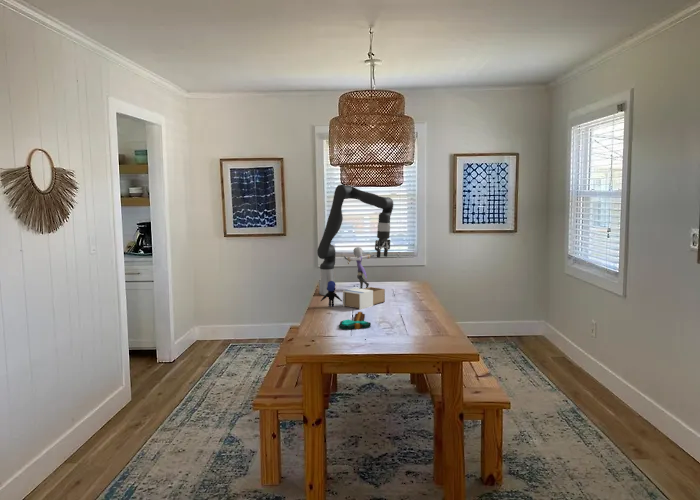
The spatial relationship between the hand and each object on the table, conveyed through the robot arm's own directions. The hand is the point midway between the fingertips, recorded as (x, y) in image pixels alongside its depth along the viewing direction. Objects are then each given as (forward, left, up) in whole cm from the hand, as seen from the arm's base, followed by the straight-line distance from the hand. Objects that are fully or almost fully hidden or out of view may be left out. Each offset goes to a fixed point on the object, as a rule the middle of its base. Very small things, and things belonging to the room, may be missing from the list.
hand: (381, 256), depth 336 cm
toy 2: (+20, -48, -29) cm, 60 cm away
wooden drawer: (-5, -10, -28) cm, 30 cm away
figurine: (-39, +25, -28) cm, 54 cm away
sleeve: (-5, -17, -28) cm, 33 cm away
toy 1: (-18, -26, -28) cm, 43 cm away
